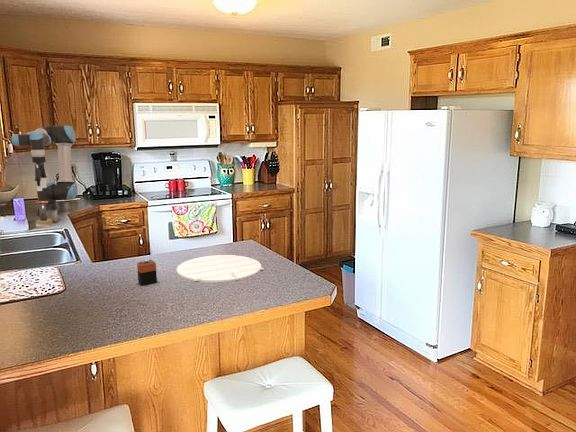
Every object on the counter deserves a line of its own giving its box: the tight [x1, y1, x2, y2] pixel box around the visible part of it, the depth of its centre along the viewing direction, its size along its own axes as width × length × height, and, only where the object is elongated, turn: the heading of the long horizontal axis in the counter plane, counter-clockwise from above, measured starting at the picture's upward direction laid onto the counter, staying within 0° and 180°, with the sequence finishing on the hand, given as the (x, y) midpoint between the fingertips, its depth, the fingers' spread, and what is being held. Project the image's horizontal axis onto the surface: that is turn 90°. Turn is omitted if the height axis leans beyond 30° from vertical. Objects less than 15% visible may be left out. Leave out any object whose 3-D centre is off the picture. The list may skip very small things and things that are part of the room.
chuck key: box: [35, 200, 48, 221], centre depth 309 cm, size 4×8×16 cm, turn 104°
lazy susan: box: [176, 254, 265, 283], centre depth 222 cm, size 40×39×3 cm
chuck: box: [46, 210, 62, 224], centre depth 324 cm, size 12×12×8 cm
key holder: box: [35, 218, 53, 229], centre depth 311 cm, size 8×8×4 cm
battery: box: [136, 259, 158, 287], centre depth 201 cm, size 4×7×10 cm, turn 126°
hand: (42, 189), depth 306 cm, fingers open, 13 cm apart
